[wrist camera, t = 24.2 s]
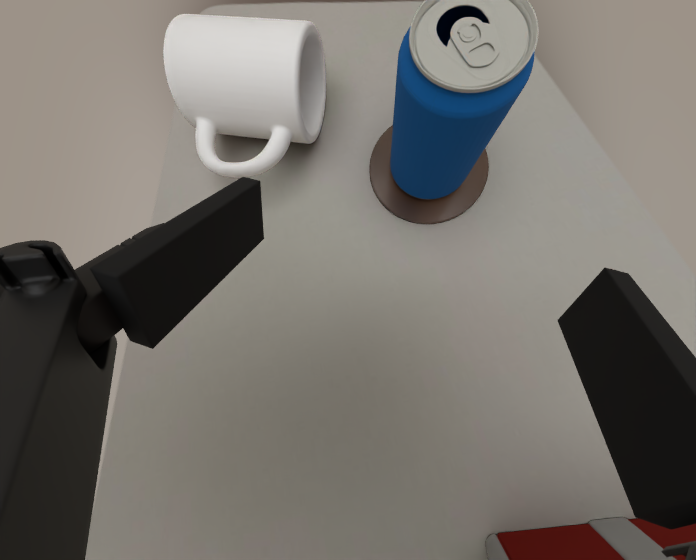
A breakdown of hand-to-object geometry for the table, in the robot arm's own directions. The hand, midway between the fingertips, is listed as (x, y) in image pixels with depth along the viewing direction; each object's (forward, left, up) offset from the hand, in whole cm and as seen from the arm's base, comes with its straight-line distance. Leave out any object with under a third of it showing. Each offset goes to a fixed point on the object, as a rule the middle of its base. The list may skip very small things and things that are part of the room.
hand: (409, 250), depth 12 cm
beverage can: (+1, +10, -13) cm, 16 cm away
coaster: (+1, +11, -13) cm, 17 cm away
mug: (-14, +11, -13) cm, 22 cm away
